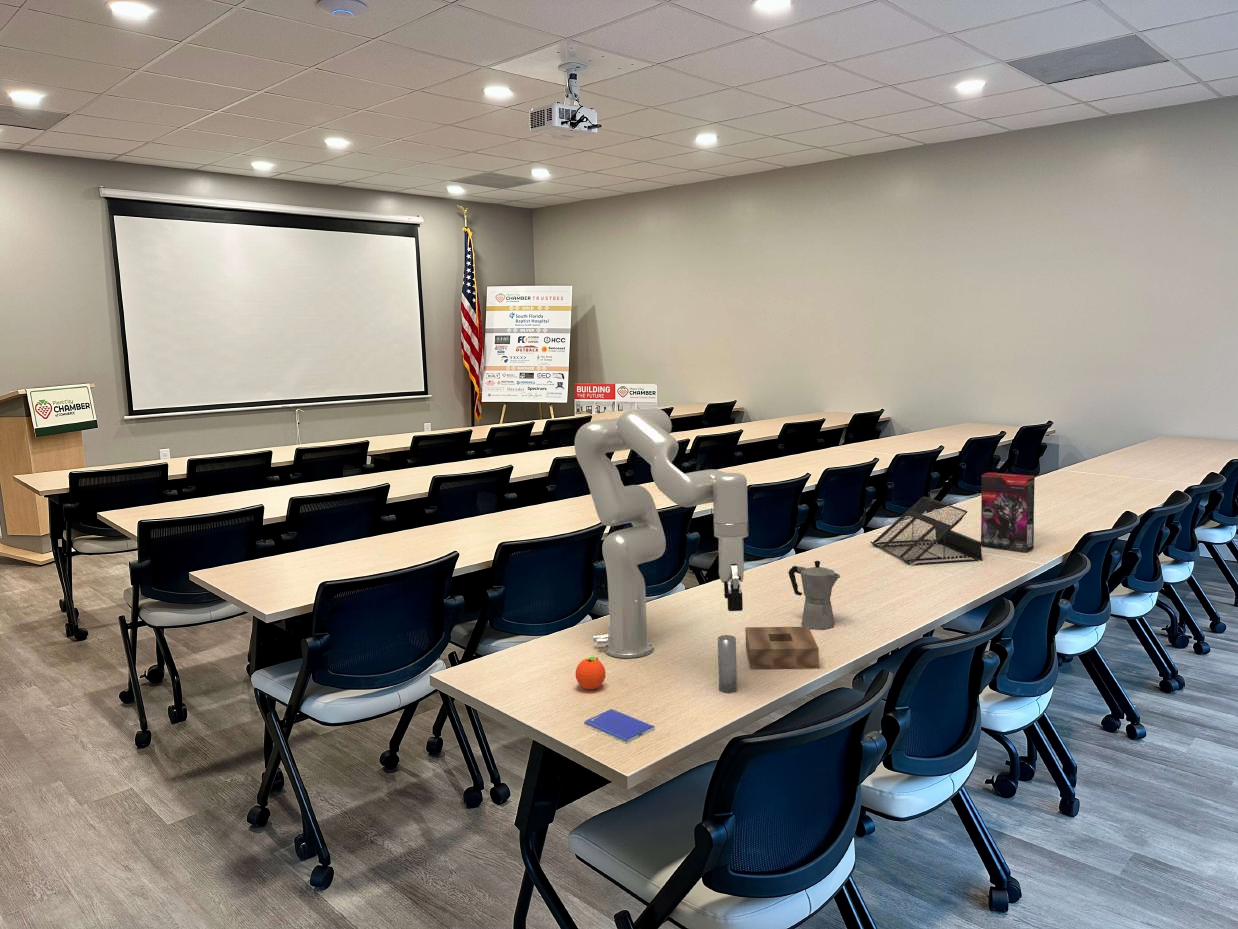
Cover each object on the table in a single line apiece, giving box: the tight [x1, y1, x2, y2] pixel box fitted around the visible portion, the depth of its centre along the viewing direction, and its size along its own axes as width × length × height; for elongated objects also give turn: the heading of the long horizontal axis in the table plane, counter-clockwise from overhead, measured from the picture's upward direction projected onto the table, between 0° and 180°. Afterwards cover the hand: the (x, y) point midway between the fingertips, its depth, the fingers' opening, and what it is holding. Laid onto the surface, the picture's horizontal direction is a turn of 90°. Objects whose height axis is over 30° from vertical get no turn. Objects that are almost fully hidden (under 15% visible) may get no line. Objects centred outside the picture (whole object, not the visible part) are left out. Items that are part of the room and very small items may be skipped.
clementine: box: [574, 656, 606, 690], centre depth 192 cm, size 8×7×7 cm
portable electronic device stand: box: [869, 496, 983, 567], centre depth 303 cm, size 33×28×18 cm
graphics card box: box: [980, 472, 1036, 553], centre depth 304 cm, size 17×7×27 cm, turn 43°
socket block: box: [744, 626, 820, 670], centre depth 206 cm, size 16×16×5 cm
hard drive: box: [583, 708, 656, 745], centre depth 171 cm, size 2×8×12 cm
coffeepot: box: [788, 560, 841, 631], centre depth 229 cm, size 15×9×18 cm, turn 49°
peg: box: [717, 634, 738, 694], centre depth 187 cm, size 4×4×12 cm
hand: (733, 604), depth 187 cm, fingers open, 9 cm apart
